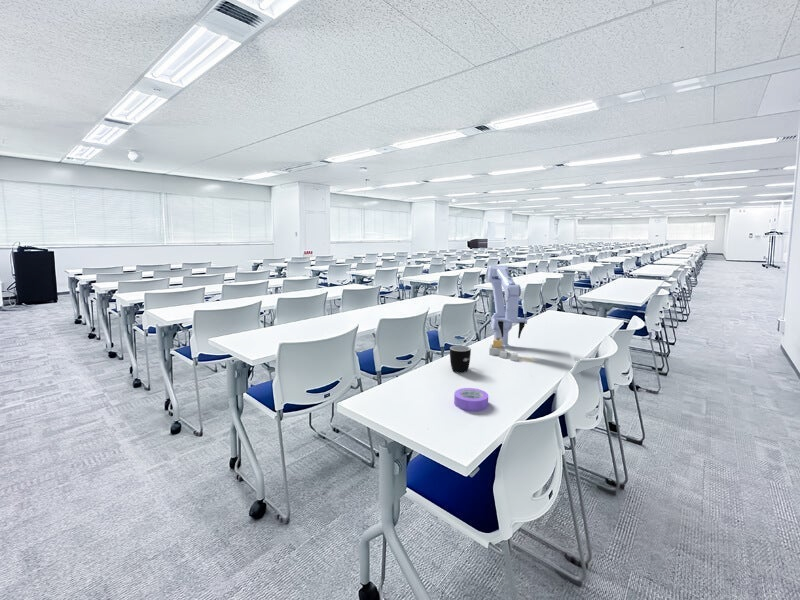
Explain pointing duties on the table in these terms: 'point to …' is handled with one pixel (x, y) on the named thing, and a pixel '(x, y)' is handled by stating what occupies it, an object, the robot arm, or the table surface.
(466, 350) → the mug
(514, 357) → the cable board
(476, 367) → the table surface
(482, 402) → the masking tape
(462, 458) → the table surface
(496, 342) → the connector plug
